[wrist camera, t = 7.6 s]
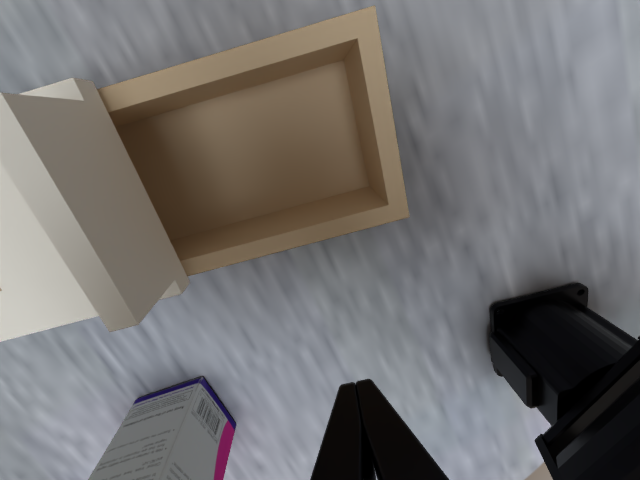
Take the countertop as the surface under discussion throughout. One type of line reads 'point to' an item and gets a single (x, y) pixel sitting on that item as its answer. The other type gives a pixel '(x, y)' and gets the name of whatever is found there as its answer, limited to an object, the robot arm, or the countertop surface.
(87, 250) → the lid
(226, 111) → the base
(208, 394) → the supplement box
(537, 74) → the countertop surface
